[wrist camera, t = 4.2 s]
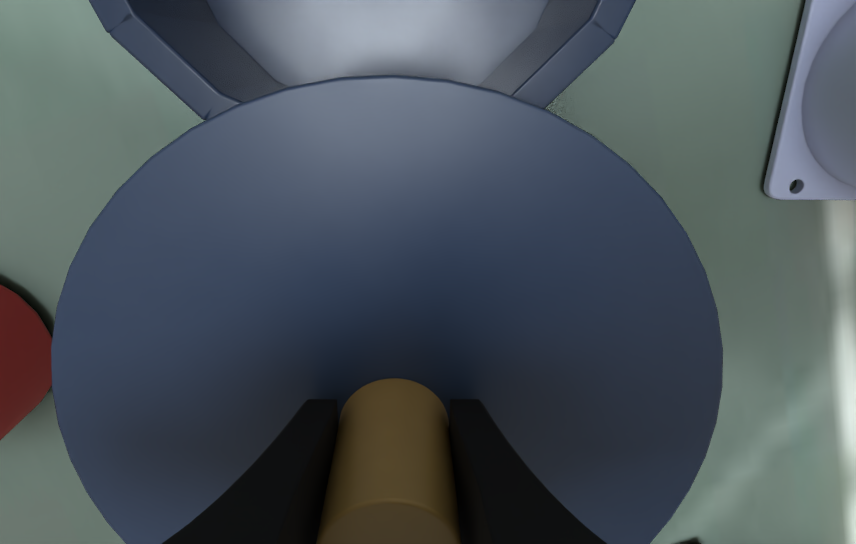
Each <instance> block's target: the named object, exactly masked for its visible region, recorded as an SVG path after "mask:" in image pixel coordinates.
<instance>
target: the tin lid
mask: <svg viewBox="0 0 856 544" xmlns="http://www.w3.org/2000/svg"><path fill="white" fill-rule="evenodd" d="M722 368H723V347H722V340H721V333H720V326H719V319H718V312H717V308H716V304H715V301H714V298H713V294H712V291H711V288H710V285H709V281H708V278H707V275H706V272H705V269H704V267H703V265H702V263H701V261H700V259H699V257H698V255H697V253H696V251H695V249H694V247H693V245H692V243H691V241H690V239H689V237H688V235H687V233H686V231H685V230H684V229H683V227H682V226H681V224H680V223H679V222H678V220H677V219H676V217H675V216H674V214H673V213H672V212H671V210H670V209H669V207H668V206H667V204H666V203H665V202H664V200H663V199H662V197H661V196H660V195H659V194H658V193H657V192H656V191H655V190H654V189H653V188H652V187H651V186H650V185H649V184H648V183H647V182H646V181H645V180H644V179H643V178H642V176H641V175H640V174H639V173H638V172H637V171H636V170H635V169H634V168H633V167H632V166H631V165H630V164H629V163H627V162H626V161H625V160H624V159H622V158H621V157H620V156H618V155H617V154H616V153H615V152H613V151H612V150H611V149H609V148H608V147H607V146H605V145H604V144H603V143H602V142H600V141H599V140H598V139H596V138H595V137H594V136H592V135H591V134H589V133H587V132H586V131H584V130H582V129H580V128H578V127H577V126H575V125H573V124H571V123H570V122H568V121H566V120H564V119H562V118H561V117H559V116H557V115H555V114H553V113H552V112H550V111H548V110H546V109H543V108H541V107H538V106H535V105H533V104H530V103H528V102H525V101H523V100H520V99H517V98H515V97H512V96H510V95H507V94H504V93H502V92H499V91H497V90H492V89H488V88H484V87H479V86H475V85H471V84H466V83H462V82H458V81H454V80H449V79H442V78H431V77H420V76H409V75H398V74H388V75H367V76H347V77H338V78H333V79H328V80H322V81H317V82H312V83H306V84H301V85H296V86H291V87H287V88H284V89H281V90H278V91H275V92H273V93H270V94H267V95H264V96H261V97H258V98H255V99H252V100H249V101H246V102H243V103H240V104H237V105H235V106H233V107H231V108H229V109H227V110H226V111H224V112H222V113H220V114H218V115H216V116H214V117H212V118H210V119H208V120H206V121H204V122H202V123H200V124H198V125H196V126H194V127H192V128H191V129H189V130H188V131H186V132H185V133H184V134H182V135H181V136H179V137H178V138H177V139H175V140H174V141H173V142H171V143H170V144H168V145H167V146H166V147H164V148H163V149H161V150H160V151H159V152H157V153H156V154H154V155H153V156H152V157H150V158H149V159H148V160H147V161H146V162H145V163H144V164H143V165H142V166H141V167H140V168H139V169H138V170H137V171H136V172H135V173H134V174H133V175H132V176H131V177H130V178H129V179H128V180H127V181H126V182H125V183H124V184H123V185H122V186H121V187H120V188H119V189H118V190H117V191H116V192H115V194H114V195H113V196H112V198H111V199H110V201H109V202H108V203H107V205H106V206H105V207H104V209H103V210H102V211H101V213H100V214H99V215H98V217H97V218H96V219H95V221H94V222H93V224H92V225H91V226H90V228H89V230H88V232H87V234H86V236H85V238H84V240H83V242H82V243H81V245H80V247H79V249H78V251H77V253H76V255H75V257H74V259H73V261H72V263H71V265H70V267H69V271H68V274H67V277H66V280H65V283H64V286H63V289H62V292H61V296H60V299H59V302H58V305H57V310H56V317H55V324H54V330H53V337H52V344H51V372H52V390H53V396H54V402H55V408H56V413H57V419H58V424H59V427H60V430H61V433H62V436H63V439H64V442H65V445H66V448H67V451H68V454H69V457H70V460H71V462H72V464H73V466H74V468H75V470H76V472H77V474H78V476H79V478H80V480H81V482H82V484H83V486H84V488H85V490H86V492H87V493H88V495H89V496H90V498H91V499H92V501H93V502H94V504H95V505H96V507H97V508H98V509H99V511H100V512H101V514H102V515H103V517H104V518H105V520H106V521H107V523H108V524H109V525H110V526H111V527H112V528H113V529H114V531H115V532H116V533H117V534H118V535H119V536H120V537H121V538H122V540H123V541H124V542H125V543H126V544H162V543H163V542H164V541H166V540H167V539H169V538H170V537H171V536H173V535H174V534H175V533H177V532H178V531H180V530H181V529H182V528H184V527H185V526H186V525H187V524H189V523H190V522H191V521H192V520H193V519H195V518H196V517H197V516H198V515H199V514H201V513H202V512H203V511H204V510H205V509H206V508H208V507H209V506H210V505H211V504H212V503H213V502H214V501H215V500H217V499H218V498H219V497H220V496H221V495H222V494H223V493H224V492H225V491H226V490H227V489H228V488H229V487H230V486H231V485H232V484H233V483H234V482H235V481H236V480H237V479H238V478H239V477H240V476H241V475H242V474H243V473H244V472H245V471H246V470H247V469H248V468H249V467H250V466H251V465H252V464H253V463H254V462H255V461H256V460H257V459H258V458H259V456H260V455H261V454H262V453H263V452H264V451H265V450H266V449H267V447H268V446H269V445H270V444H271V443H272V442H273V441H274V439H275V438H276V437H277V436H278V435H279V434H280V432H281V431H282V430H283V429H284V427H285V426H286V425H287V424H288V423H289V421H290V420H291V419H292V418H293V416H294V415H295V414H296V412H297V411H298V410H299V409H300V407H301V406H302V405H303V403H305V402H306V401H307V400H308V399H337V410H338V431H337V436H336V442H335V447H334V452H333V457H332V463H331V468H330V473H329V478H328V484H327V489H326V494H325V499H324V505H323V510H322V515H321V520H320V526H319V531H318V536H317V542H316V544H461V534H460V525H459V515H458V506H457V497H456V487H455V478H454V469H453V462H452V453H451V444H450V434H449V415H450V399H479V400H480V401H481V402H482V403H483V404H484V406H485V408H486V409H487V411H488V412H489V414H490V416H491V417H492V419H493V420H494V422H495V423H496V425H497V426H498V428H499V429H500V431H501V432H502V433H503V435H504V436H505V438H506V439H507V440H508V442H509V443H510V444H511V446H512V447H513V448H514V450H515V451H516V452H517V453H518V455H519V456H520V457H521V459H522V460H523V461H524V462H525V464H526V465H527V466H528V467H529V468H530V470H531V471H532V472H533V473H534V474H535V476H536V477H537V478H538V479H539V480H540V481H541V482H542V483H543V484H544V486H545V487H546V488H547V489H548V490H549V491H550V492H551V493H552V494H553V495H554V496H555V497H556V498H557V499H558V500H559V501H560V502H561V503H562V504H563V505H564V506H565V507H566V508H567V509H568V510H569V511H570V512H571V513H572V514H573V515H574V516H575V517H576V518H577V519H578V520H579V521H580V522H582V523H583V524H584V525H585V526H586V527H587V528H589V529H590V530H591V531H592V532H593V533H594V534H596V535H597V536H598V537H599V538H601V539H602V540H603V541H605V542H606V543H607V544H650V542H651V541H652V540H653V539H654V538H655V537H656V535H657V534H658V533H659V532H660V531H661V529H662V528H663V527H664V526H665V525H666V524H667V522H668V521H669V520H670V519H671V517H672V516H673V514H674V513H675V511H676V510H677V508H678V507H679V505H680V504H681V502H682V500H683V499H684V497H685V496H686V494H687V493H688V491H689V490H690V488H691V486H692V484H693V482H694V480H695V477H696V475H697V473H698V471H699V469H700V467H701V465H702V463H703V461H704V459H705V456H706V453H707V450H708V447H709V444H710V441H711V438H712V434H713V431H714V428H715V425H716V421H717V415H718V409H719V403H720V397H721V391H722Z"/></svg>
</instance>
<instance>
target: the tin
mask: <svg viewBox="0 0 856 544" xmlns="http://www.w3.org/2000/svg"><path fill="white" fill-rule="evenodd" d="M635 1H636V0H89V2H90V3H91V5H92V7H93V9H94V11H95V12H96V14H97V16H98V18H99V20H100V21H101V23H102V25H103V27H104V28H105V30H106V32H108V33H110V35H111V36H112V37H113V38H114V39H115V40H116V41H117V42H118V43H119V44H120V45H121V46H122V47H124V48H125V49H126V50H127V51H128V52H129V53H130V54H131V55H132V56H133V57H135V58H136V59H137V60H138V61H139V62H140V63H141V64H142V65H143V66H144V67H146V68H147V69H148V70H149V71H150V72H151V73H152V74H153V75H154V76H155V77H157V78H158V79H159V80H160V81H161V82H162V83H163V84H164V85H165V86H166V87H168V88H169V89H170V90H171V91H172V92H173V93H174V94H175V95H176V96H177V97H179V98H180V99H181V100H182V101H183V102H184V103H185V104H186V105H187V106H188V107H190V108H191V109H192V110H193V111H194V112H195V113H196V114H197V115H198V116H199V117H201V118H202V119H203V120H208V119H210V118H212V117H214V116H216V115H218V114H220V113H222V112H224V111H226V110H227V109H229V108H231V107H233V106H235V105H237V104H240V103H243V102H246V101H249V100H252V99H255V98H258V97H261V96H264V95H267V94H270V93H273V92H275V91H278V90H281V89H284V88H287V87H291V86H296V85H301V84H306V83H312V82H317V81H322V80H328V79H333V78H338V77H347V76H367V75H388V74H398V75H409V76H420V77H431V78H442V79H449V80H454V81H458V82H462V83H466V84H471V85H475V86H479V87H484V88H488V89H492V90H497V91H499V92H502V93H504V94H507V95H510V96H512V97H515V98H517V99H520V100H523V101H525V102H528V103H530V104H533V105H535V106H538V107H541V108H543V109H545V108H546V107H547V106H548V105H549V104H550V103H551V102H552V101H553V100H554V99H555V98H556V97H557V96H558V95H559V94H560V93H561V92H563V91H564V90H565V89H566V88H567V87H568V86H569V85H570V84H571V83H572V82H573V81H574V80H575V79H576V78H577V77H578V76H579V75H580V74H581V73H583V72H584V71H585V70H586V69H587V68H588V67H589V66H590V65H591V64H592V63H593V62H594V61H595V60H596V59H597V58H598V57H599V56H600V55H601V54H603V53H604V52H605V51H606V50H607V49H608V48H609V47H610V46H611V45H612V44H613V43H614V41H615V39H616V38H617V37H618V35H619V33H620V31H621V29H622V27H623V25H624V23H625V21H626V19H627V17H628V15H629V13H630V11H631V9H632V7H633V5H634V3H635Z"/></svg>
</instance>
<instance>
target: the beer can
mask: <svg viewBox="0 0 856 544" xmlns="http://www.w3.org/2000/svg"><path fill="white" fill-rule="evenodd" d="M51 344H52V338H51V335H50V333H49V332H48V330H47V328H46V327H45V325H44V323H43V322H42V320H41V318H40V317H39V315H38V313H37V312H36V311H35V310H34V309H33V308H32V307H30V306H29V305H28V304H27V303H26V302H25V301H24V300H23V299H22V298H21V297H20V296H19V295H18V294H16V293H15V292H13V291H11V290H9V289H8V288H6V287H4V286H2V285H1V284H0V440H1V439H2V438H3V437H4V436H5V435H6V434H7V433H8V432H9V431H10V430H12V429H13V428H14V427H15V426H16V425H17V424H18V423H19V422H20V421H21V420H22V419H23V418H24V417H25V416H26V415H27V414H28V413H29V412H31V411H32V410H33V409H34V408H35V407H36V406H37V405H38V404H39V403H40V402H41V401H42V399H43V398H44V396H45V395H46V393H47V391H48V390H49V388H50V387H51V385H52V372H51Z"/></svg>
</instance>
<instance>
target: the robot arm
mask: <svg viewBox="0 0 856 544" xmlns="http://www.w3.org/2000/svg"><path fill="white" fill-rule="evenodd" d="M794 180H797V185H796V187H795V188H794V189H793V190H791V191H790V190H789V186H790V184H791V183H792V182H793V181H794ZM764 191H765V194H767V195H768V196H769V197H771V198H774V199H778V200H856V0H806V2H805V6H804V11H803V15H802V20H801V24H800V28H799V33H798V37H797V41H796V46H795V50H794V55H793V59H792V63H791V68H790V72H789V76H788V81H787V85H786V90H785V94H784V98H783V103H782V107H781V111H780V116H779V120H778V125H777V129H776V133H775V138H774V142H773V147H772V151H771V155H770V160H769V164H768V168H767V173H766V177H765V182H764ZM337 431H338V410H337V399H308V400H307V401H306V402H305V403H303V405H302V406H301V407H300V409H299V410H298V411H297V412H296V414H295V415H294V416H293V418H292V419H291V420H290V421H289V423H288V424H287V425H286V426H285V427H284V429H283V430H282V431H281V432H280V434H279V435H278V436H277V437H276V438H275V439H274V441H273V442H272V443H271V444H270V445H269V446H268V447H267V449H266V450H265V451H264V452H263V453H262V454H261V455H260V456H259V458H258V459H257V460H256V461H255V462H254V463H253V464H252V465H251V466H250V467H249V468H248V469H247V470H246V471H245V472H244V473H243V474H242V475H241V476H240V477H239V478H238V479H237V480H236V481H235V482H234V483H233V484H232V485H231V486H230V487H229V488H228V489H227V490H226V491H225V492H224V493H223V494H222V495H221V496H220V497H219V498H218V499H217V500H215V501H214V502H213V503H212V504H211V505H210V506H209V507H208V508H206V509H205V510H204V511H203V512H202V513H201V514H199V515H198V516H197V517H196V518H195V519H193V520H192V521H191V522H190V523H189V524H187V525H186V526H185V527H184V528H182V529H181V530H180V531H178V532H177V533H175V534H174V535H173V536H171V537H170V538H169V539H167V540H166V541H164V542H163V543H162V544H316V542H317V536H318V531H319V526H320V520H321V515H322V510H323V505H324V499H325V494H326V489H327V484H328V478H329V473H330V468H331V463H332V457H333V452H334V447H335V442H336V436H337ZM449 434H450V444H451V453H452V462H453V469H454V478H455V487H456V497H457V506H458V515H459V525H460V534H461V544H607V543H606V542H605V541H603V540H602V539H601V538H599V537H598V536H597V535H596V534H594V533H593V532H592V531H591V530H590V529H589V528H587V527H586V526H585V525H584V524H583V523H582V522H580V521H579V520H578V519H577V518H576V517H575V516H574V515H573V514H572V513H571V512H570V511H569V510H568V509H567V508H566V507H565V506H564V505H563V504H562V503H561V502H560V501H559V500H558V499H557V498H556V497H555V496H554V495H553V494H552V493H551V492H550V491H549V490H548V489H547V488H546V487H545V486H544V484H543V483H542V482H541V481H540V480H539V479H538V478H537V477H536V476H535V474H534V473H533V472H532V471H531V470H530V468H529V467H528V466H527V465H526V464H525V462H524V461H523V460H522V459H521V457H520V456H519V455H518V453H517V452H516V451H515V450H514V448H513V447H512V446H511V444H510V443H509V442H508V440H507V439H506V438H505V436H504V435H503V433H502V432H501V431H500V429H499V428H498V426H497V425H496V423H495V422H494V420H493V419H492V417H491V416H490V414H489V412H488V411H487V409H486V408H485V406H484V404H483V403H482V402H481V401H480V400H479V399H450V415H449Z"/></svg>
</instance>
